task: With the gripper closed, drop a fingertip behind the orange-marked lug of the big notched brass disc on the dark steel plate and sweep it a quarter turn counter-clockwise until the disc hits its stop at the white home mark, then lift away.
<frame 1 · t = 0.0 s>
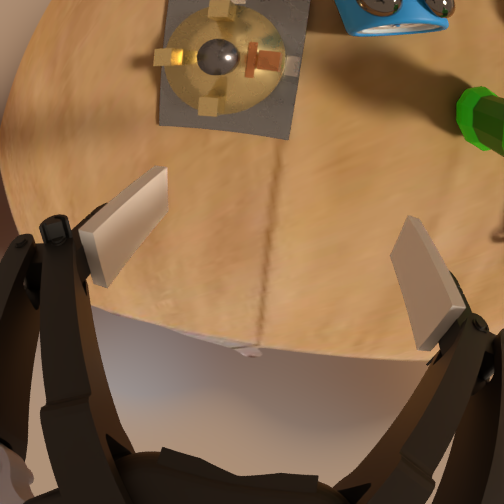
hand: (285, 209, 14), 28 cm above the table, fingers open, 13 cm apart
notched brass disc: (220, 57, 29), point 5 cm above the table, hinge at 0.0°
spindle plate: (229, 59, 32), on the table
alarm clock: (377, 17, 24), on the table
plastic bottle: (470, 113, 29), on the table
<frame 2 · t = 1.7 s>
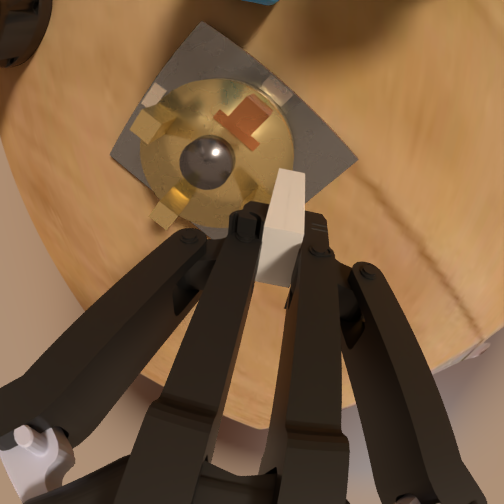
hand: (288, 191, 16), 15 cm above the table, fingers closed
notched brass disc: (209, 159, 26), point 5 cm above the table, hinge at 0.0°
spindle plate: (221, 147, 30), on the table
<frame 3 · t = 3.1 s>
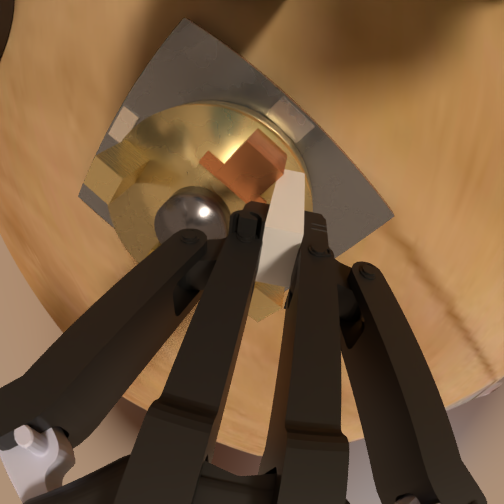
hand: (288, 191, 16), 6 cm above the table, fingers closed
notched brass disc: (196, 220, 19), point 5 cm above the table, hinge at 0.0°, touching gripper
spindle plate: (214, 193, 23), on the table
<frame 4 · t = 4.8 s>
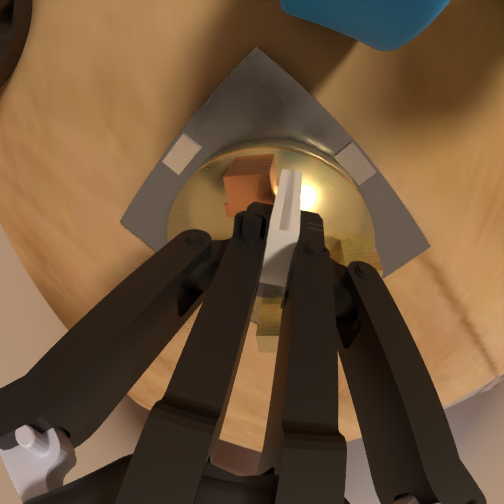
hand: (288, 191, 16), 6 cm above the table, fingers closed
notched brass disc: (268, 257, 21), point 5 cm above the table, hinge at 50.2°, touching gripper
spindle plate: (273, 225, 24), on the table
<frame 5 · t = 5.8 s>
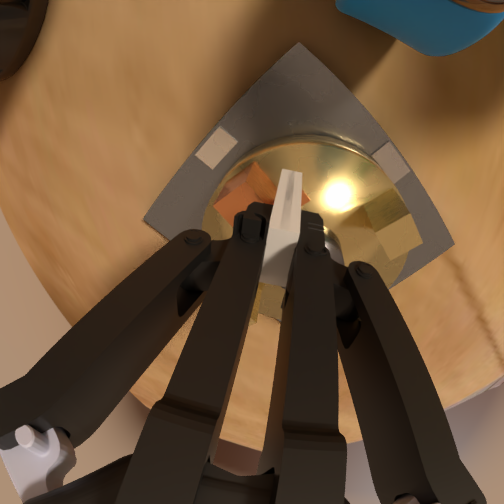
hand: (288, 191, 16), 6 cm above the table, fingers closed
notched brass disc: (307, 254, 20), point 5 cm above the table, hinge at 81.6°, touching gripper
spindle plate: (306, 222, 24), on the table
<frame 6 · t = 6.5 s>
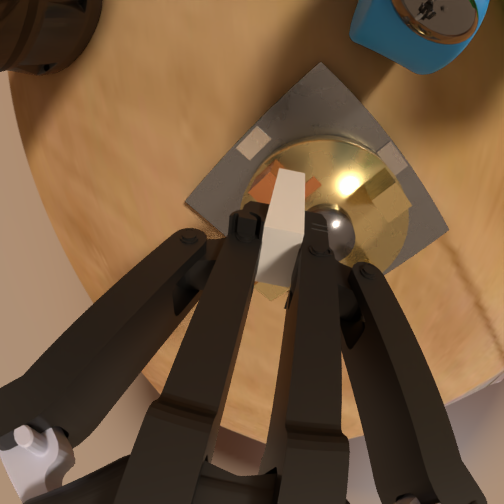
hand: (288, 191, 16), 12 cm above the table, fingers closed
notched brass disc: (326, 229, 25), point 5 cm above the table, hinge at 89.5°
spindle plate: (324, 207, 28), on the table
alarm clock: (387, 9, 15), on the table
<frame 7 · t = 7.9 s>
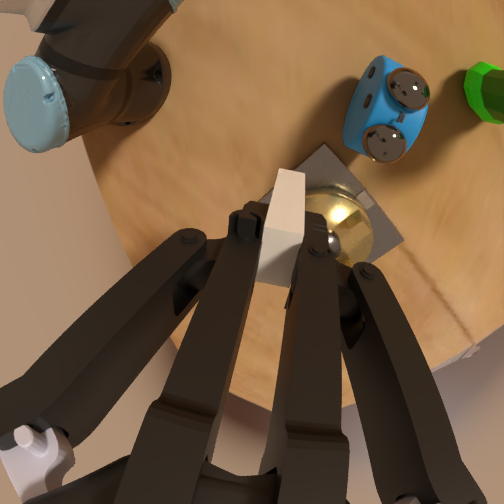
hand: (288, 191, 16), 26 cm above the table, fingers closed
notched brass disc: (324, 243, 43), point 5 cm above the table, hinge at 89.5°
spindle plate: (323, 228, 47), on the table
alarm clock: (369, 103, 33), on the table
plastic bottle: (477, 89, 26), on the table
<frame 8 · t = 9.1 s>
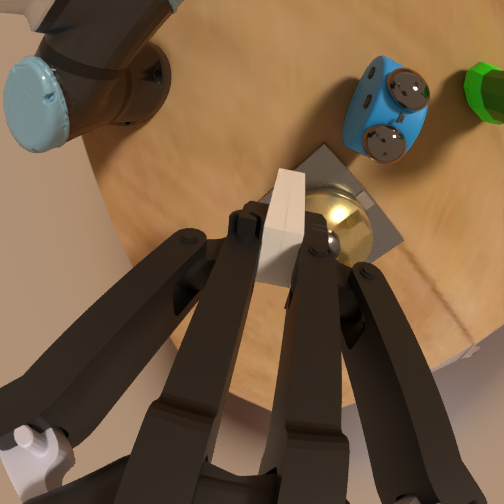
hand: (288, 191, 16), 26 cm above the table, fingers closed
notched brass disc: (324, 243, 43), point 5 cm above the table, hinge at 89.5°
spindle plate: (323, 228, 47), on the table
alarm clock: (369, 103, 33), on the table
plastic bottle: (477, 90, 26), on the table
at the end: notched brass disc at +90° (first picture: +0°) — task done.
